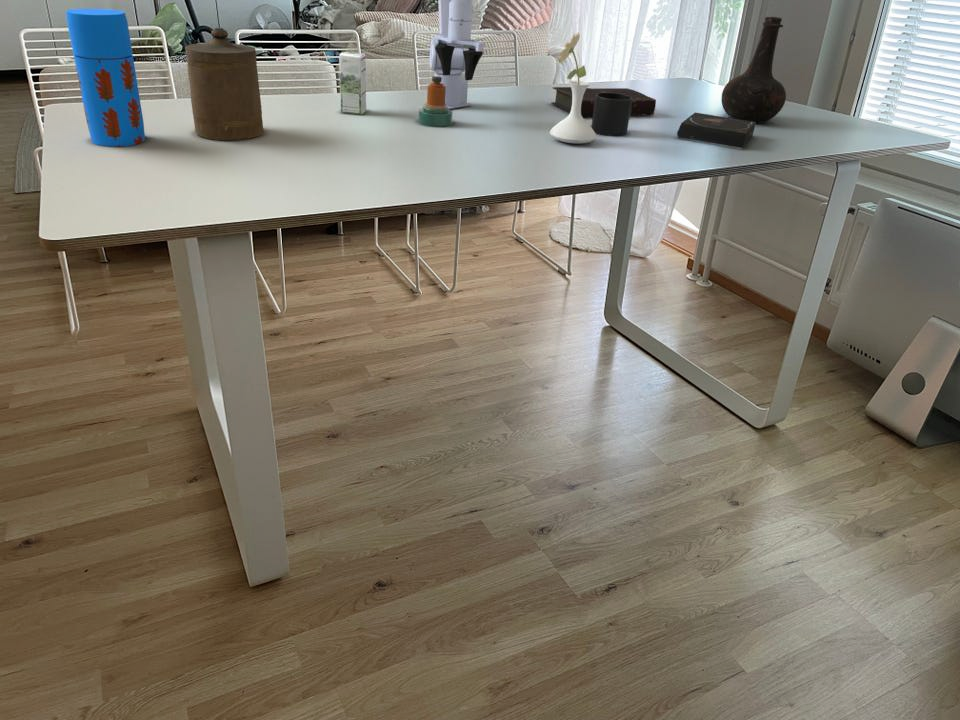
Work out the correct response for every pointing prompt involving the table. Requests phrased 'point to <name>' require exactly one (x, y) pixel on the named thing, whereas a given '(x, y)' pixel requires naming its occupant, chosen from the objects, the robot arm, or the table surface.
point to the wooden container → (224, 89)
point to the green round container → (435, 115)
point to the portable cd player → (716, 130)
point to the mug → (611, 114)
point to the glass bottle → (757, 82)
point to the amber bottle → (436, 92)
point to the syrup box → (352, 82)
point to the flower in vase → (574, 104)
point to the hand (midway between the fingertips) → (457, 77)
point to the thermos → (106, 76)
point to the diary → (639, 100)
